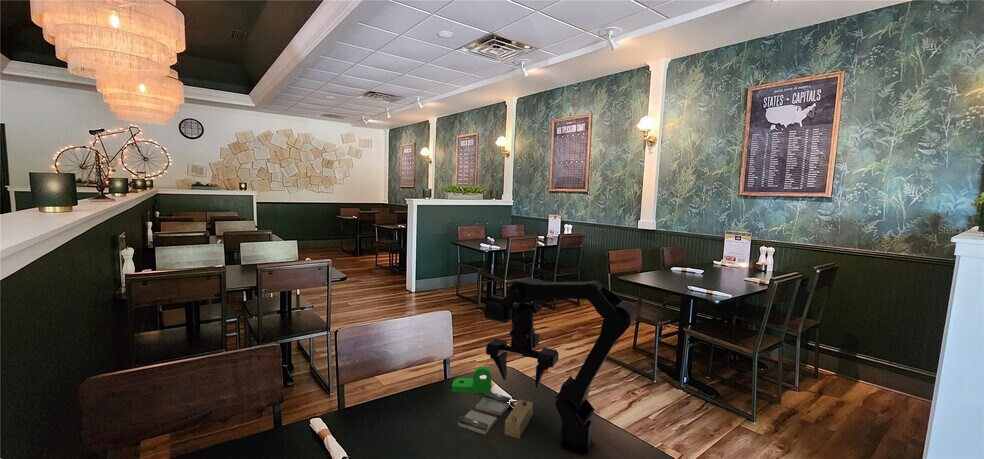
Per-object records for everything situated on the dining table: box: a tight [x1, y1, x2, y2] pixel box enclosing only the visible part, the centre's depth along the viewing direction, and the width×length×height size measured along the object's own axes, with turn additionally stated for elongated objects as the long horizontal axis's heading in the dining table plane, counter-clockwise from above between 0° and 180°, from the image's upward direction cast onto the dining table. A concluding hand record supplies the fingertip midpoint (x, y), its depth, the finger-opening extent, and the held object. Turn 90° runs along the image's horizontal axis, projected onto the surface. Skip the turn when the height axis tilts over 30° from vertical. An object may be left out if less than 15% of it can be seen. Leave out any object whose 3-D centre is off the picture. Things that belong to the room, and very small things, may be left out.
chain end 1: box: [475, 391, 512, 416], centre depth 120 cm, size 8×7×2 cm
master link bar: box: [504, 399, 534, 439], centre depth 111 cm, size 4×12×5 cm, turn 158°
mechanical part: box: [451, 365, 492, 394], centre depth 130 cm, size 12×6×8 cm, turn 88°
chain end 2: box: [457, 409, 498, 435], centre depth 111 cm, size 8×7×2 cm
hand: (520, 383), depth 110 cm, fingers open, 9 cm apart
